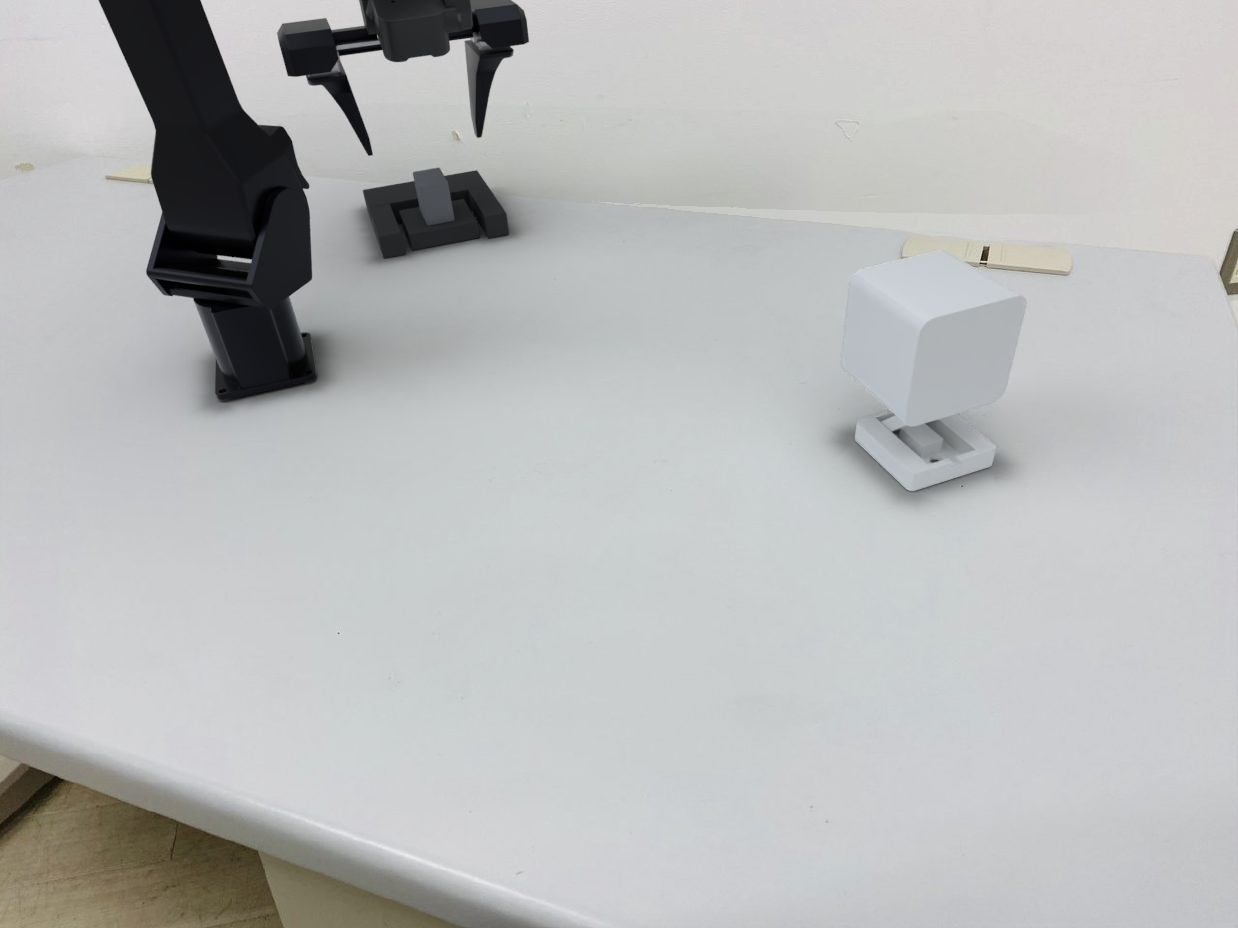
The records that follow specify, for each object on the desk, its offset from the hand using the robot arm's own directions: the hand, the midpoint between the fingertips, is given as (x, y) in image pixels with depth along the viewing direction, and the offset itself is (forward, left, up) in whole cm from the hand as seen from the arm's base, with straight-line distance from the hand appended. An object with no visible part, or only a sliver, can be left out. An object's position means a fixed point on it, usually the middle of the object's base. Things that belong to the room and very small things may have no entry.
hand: (425, 145), depth 75 cm
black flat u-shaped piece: (+2, 0, -8) cm, 8 cm away
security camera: (-44, -19, -8) cm, 48 cm away
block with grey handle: (0, 0, -8) cm, 8 cm away
